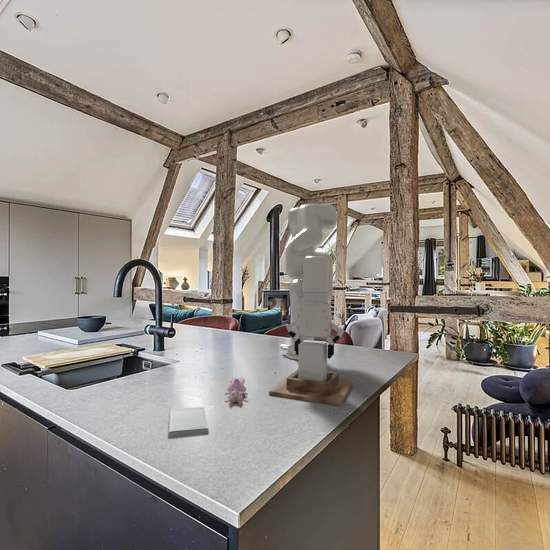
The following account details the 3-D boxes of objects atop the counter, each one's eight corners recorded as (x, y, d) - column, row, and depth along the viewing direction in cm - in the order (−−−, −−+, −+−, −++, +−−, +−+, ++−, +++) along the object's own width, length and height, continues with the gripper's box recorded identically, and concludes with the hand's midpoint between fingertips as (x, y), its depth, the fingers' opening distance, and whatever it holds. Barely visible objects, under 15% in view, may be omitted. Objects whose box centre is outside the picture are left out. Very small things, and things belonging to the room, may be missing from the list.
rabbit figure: (247, 411, 91) (248, 383, 106) (248, 389, 90) (248, 364, 105) (223, 411, 91) (227, 383, 105) (223, 389, 90) (227, 364, 104)
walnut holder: (268, 394, 99) (269, 380, 99) (292, 375, 118) (292, 363, 118) (340, 405, 92) (340, 390, 92) (353, 383, 111) (353, 371, 111)
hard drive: (209, 428, 75) (204, 406, 87) (168, 431, 73) (169, 408, 85) (208, 435, 75) (204, 412, 87) (168, 439, 73) (169, 415, 85)
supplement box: (327, 383, 108) (328, 341, 107) (322, 390, 101) (323, 346, 100) (303, 380, 110) (304, 339, 110) (297, 387, 103) (298, 343, 103)
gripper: (283, 297, 105) (281, 355, 105) (342, 300, 98) (340, 362, 99) (291, 295, 112) (290, 349, 112) (346, 298, 105) (345, 356, 106)
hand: (313, 355), depth 105 cm, fingers open, 9 cm apart
